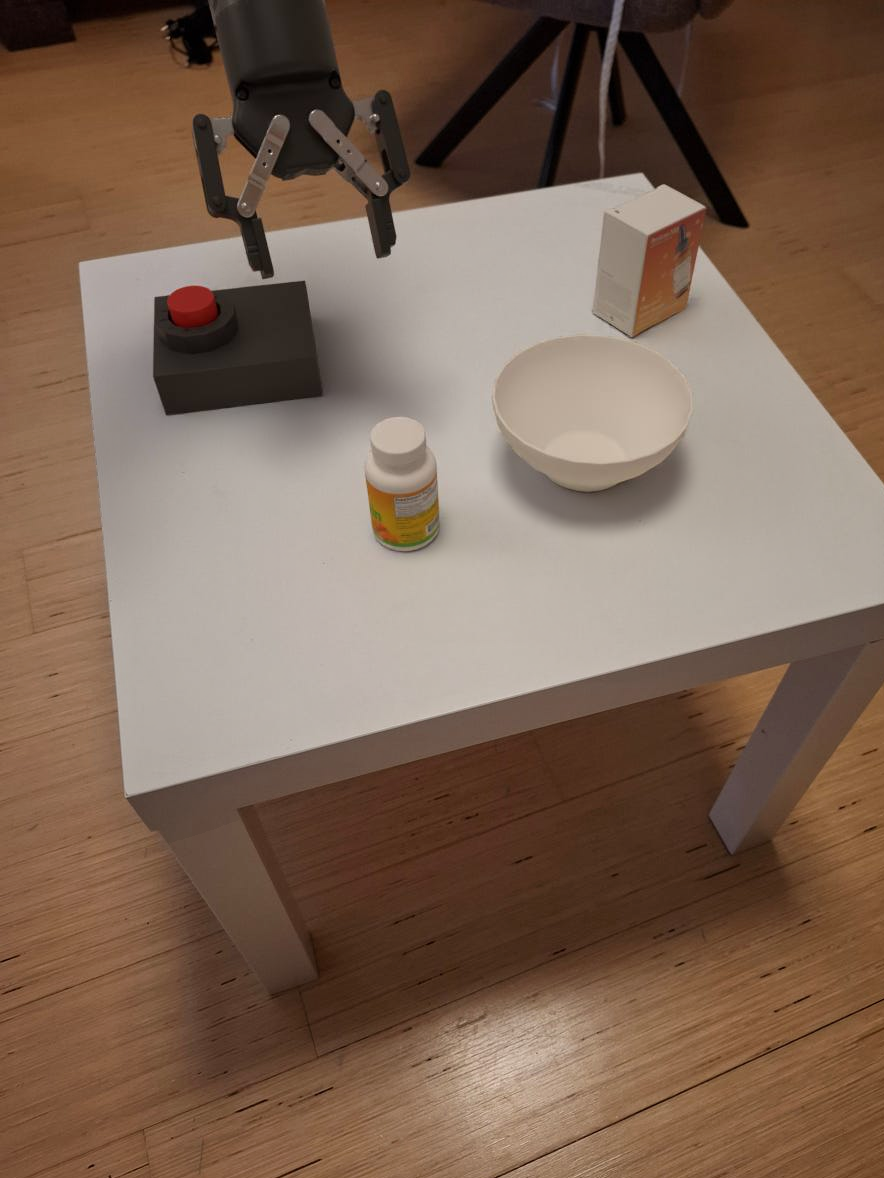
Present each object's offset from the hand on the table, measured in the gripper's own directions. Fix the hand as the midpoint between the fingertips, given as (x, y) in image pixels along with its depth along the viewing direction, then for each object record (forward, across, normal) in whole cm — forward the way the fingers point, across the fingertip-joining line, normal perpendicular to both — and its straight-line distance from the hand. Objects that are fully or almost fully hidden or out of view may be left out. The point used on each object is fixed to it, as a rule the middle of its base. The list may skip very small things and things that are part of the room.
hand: (326, 266), depth 67 cm
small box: (+7, -33, -17) cm, 38 cm away
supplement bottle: (+20, -2, -2) cm, 20 cm away
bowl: (+18, -19, -3) cm, 26 cm away
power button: (0, +9, -19) cm, 21 cm away
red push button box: (+5, +6, -22) cm, 23 cm away
